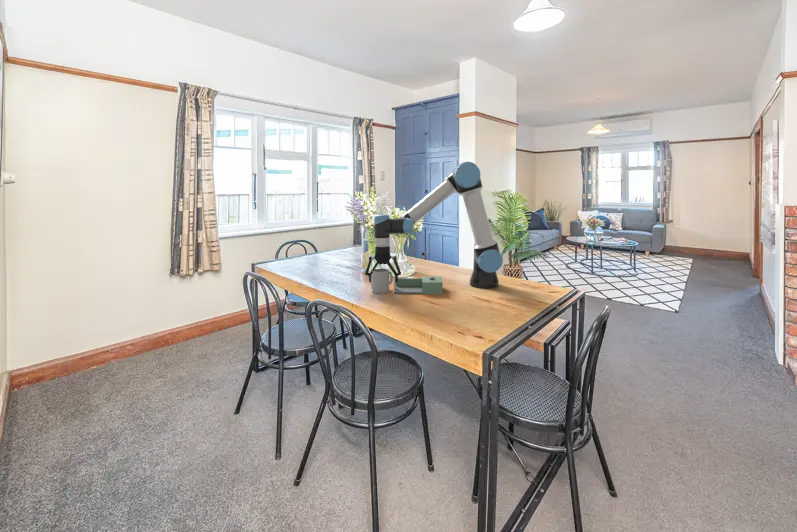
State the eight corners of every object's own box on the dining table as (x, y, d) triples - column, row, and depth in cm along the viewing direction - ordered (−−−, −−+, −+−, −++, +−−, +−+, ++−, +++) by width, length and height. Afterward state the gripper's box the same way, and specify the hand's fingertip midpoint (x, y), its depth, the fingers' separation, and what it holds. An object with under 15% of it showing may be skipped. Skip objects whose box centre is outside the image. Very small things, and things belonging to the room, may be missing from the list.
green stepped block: (441, 287, 204) (441, 274, 203) (442, 294, 192) (442, 280, 190) (395, 287, 206) (395, 274, 205) (393, 294, 193) (393, 280, 192)
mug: (380, 294, 193) (379, 272, 190) (369, 291, 199) (368, 270, 197) (397, 289, 201) (397, 269, 199) (386, 287, 207) (386, 266, 205)
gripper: (406, 244, 198) (406, 286, 202) (360, 244, 200) (362, 286, 204) (405, 246, 191) (406, 290, 195) (358, 247, 192) (359, 290, 197)
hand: (383, 288), depth 200 cm, fingers open, 11 cm apart
